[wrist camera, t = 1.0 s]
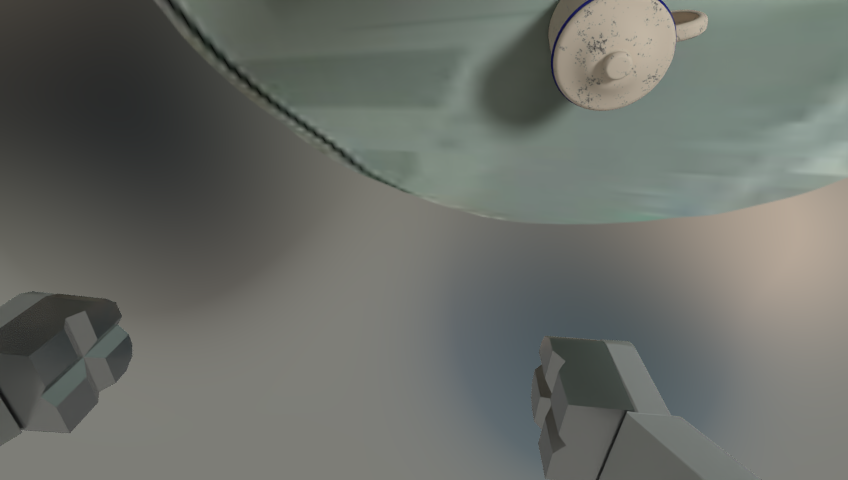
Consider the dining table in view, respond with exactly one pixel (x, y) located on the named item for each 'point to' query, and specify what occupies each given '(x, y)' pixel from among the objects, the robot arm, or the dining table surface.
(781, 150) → the dining table surface
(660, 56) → the teacup with lid
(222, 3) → the dining table surface
